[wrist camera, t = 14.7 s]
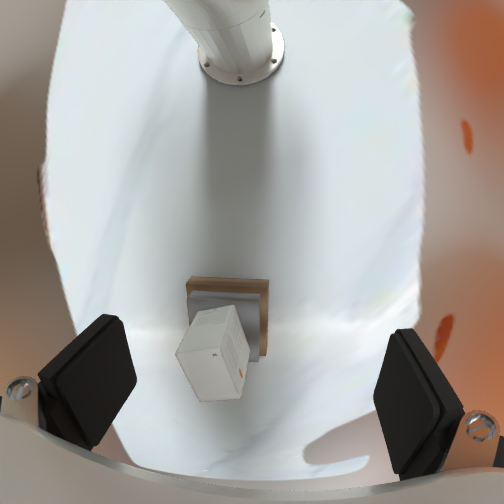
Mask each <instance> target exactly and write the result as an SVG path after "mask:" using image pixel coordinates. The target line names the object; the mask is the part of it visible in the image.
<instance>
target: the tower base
mask: <svg viewBox="0 0 504 504" xmlns="http://www.w3.org/2000/svg"><path fill="white" fill-rule="evenodd" d="M268 288H269V280H261V279H234V278H210V277H191V278H190V279H189V281H188V282H187V283H186V289H187V306H188V316H189V325H191V323H192V322H193V320H194V318H195V316H196V314H197V312H198V311H203V310H208V309H214V308H219V307H224V306H229V305H235V307H236V311H237V313H238V316H239V319H240V322H241V325H242V328H243V331H244V334H245V337H246V340H247V342H248V345H249V348H250V354H249V360H248V361H250V362H258V360H259V356H266V352H267V333H268Z"/></svg>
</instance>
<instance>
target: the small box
mask: <svg viewBox="0 0 504 504" xmlns="http://www.w3.org/2000/svg"><path fill="white" fill-rule="evenodd" d="M249 354H250V348H249V345H248V342H247V340H246V337H245V334H244V331H243V328H242V325H241V322H240V319H239V316H238V313H237V311H236V307H235V305H229V306H224V307H219V308H214V309H208V310H203V311H198V312H197V314H196V316H195V318H194V320H193V322H192V323H191V325H190V327H189V329H188V331H187V332H186V334H185V336H184V338H183V340H182V342H181V343H180V345H179V347H178V349H177V351H176V353H175V355H176V357H177V359H178V361H179V363H180V365H181V367H182V369H183V371H184V373H185V375H186V377H187V379H188V381H189V383H190V385H191V386H192V388H193V390H194V392H195V394H196V396H197V398H198V400H199V401H200V402H202V401H219V400H232V399H241V398H242V393H243V388H244V382H245V377H246V371H247V366H248V360H249Z"/></svg>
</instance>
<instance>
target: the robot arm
mask: <svg viewBox="0 0 504 504" xmlns="http://www.w3.org/2000/svg"><path fill="white" fill-rule="evenodd" d="M163 1H164V2H165V3H166V4H167V5H168V7H169V8H170V9H171V10H172V11H173V12H174V13H175V15H176V16H177V17H178V19H179V20H180V21H181V22H182V24H183V25H184V26H185V28H186V29H187V30H188V31H189V33H190V34H191V35H192V37H193V38H194V39H195V41H196V42H197V43H198V44H199V45H198V59H199V62H200V64H201V66H202V68H203V69H204V71H205V72H206V73H207V74H208V75H209V76H210V77H212V78H213V79H215V80H217V81H218V82H221V83H224V84H228V85H234V86H243V85H249V84H253V83H256V82H259V81H261V80H263V79H265V78H267V77H268V76H269V75H271V74H272V73H273V72H274V71H275V70H276V69H277V68H278V66H279V65H280V63H281V61H282V59H283V56H284V40H283V36H282V34H281V32H280V31H279V29H278V28H277V27H276V26H275V25H274V24H273V23H271V17H270V8H269V0H163ZM273 32H274V33H273ZM273 62H276V63H275V64H273ZM208 65H210V66H209V67H207V66H208ZM240 79H242V81H241V82H239V80H240ZM38 376H39V378H40V380H41V381H40V382H39V383H37V381H36V380H35V379H34V378H32V377H30V376H19V377H16V378H14V379H12V380H11V381H9V382H8V383H7V384H6V386H5V387H4V390H3V395H2V396H0V504H504V437H503V436H500V425H499V422H498V421H497V419H496V418H495V417H494V416H493V415H492V414H490V413H488V412H486V411H482V410H472V411H470V412H467V413H466V414H465V412H464V410H463V405H462V403H461V402H460V400H459V398H458V397H457V395H456V393H455V392H454V390H453V388H452V387H451V385H450V383H449V382H448V380H447V379H446V377H445V376H444V374H443V373H442V371H441V369H440V368H439V366H438V365H437V363H436V361H435V360H434V358H433V357H432V355H431V354H430V352H429V351H428V350H427V348H426V347H425V345H424V344H423V342H422V341H421V339H420V338H419V336H418V335H417V333H416V332H415V331H414V329H412V328H410V329H397V330H396V331H395V334H391V335H390V338H389V342H388V346H387V350H386V353H385V357H384V361H383V364H382V368H381V371H380V374H379V378H378V381H377V384H376V387H375V390H374V395H373V400H374V404H375V407H376V410H377V414H378V417H379V420H380V424H381V427H382V431H383V434H384V438H385V441H386V445H387V449H388V452H389V456H390V460H391V464H392V468H393V471H394V473H395V474H399V478H400V481H398V482H392V483H386V484H380V485H373V486H365V487H357V488H349V489H337V490H322V491H271V490H254V489H242V488H233V487H224V486H217V485H211V484H205V483H199V482H193V481H188V480H183V479H179V478H174V477H170V476H165V475H162V474H158V473H154V472H150V471H147V470H143V469H139V468H136V467H132V466H130V465H127V464H123V463H120V462H117V461H115V460H112V459H109V458H106V457H104V456H101V455H98V454H95V453H93V452H91V450H92V448H93V447H94V446H97V445H98V444H99V443H100V441H101V439H102V438H103V436H104V435H105V433H106V431H107V430H108V428H109V427H110V425H111V423H112V422H113V420H114V419H115V417H116V415H117V414H118V412H119V411H120V409H121V408H122V406H123V404H124V403H125V401H126V400H127V398H128V397H129V395H130V394H131V392H132V390H133V389H134V387H135V386H136V383H137V376H136V373H135V369H134V366H133V362H132V358H131V354H130V350H129V346H128V342H127V338H126V334H125V330H124V325H123V322H122V321H121V320H120V319H119V318H118V317H117V316H115V315H108V314H102V315H101V316H100V317H98V318H97V319H96V320H95V321H94V322H93V323H92V324H91V325H89V326H88V327H87V328H86V329H85V330H84V331H83V332H82V333H81V334H79V335H78V336H77V337H76V338H75V339H74V340H73V341H72V342H71V343H70V344H69V345H67V346H66V347H65V348H64V349H63V350H62V351H61V352H60V353H59V354H58V355H57V356H56V357H55V358H53V360H51V362H49V363H48V364H47V365H46V366H45V367H44V368H43V369H42V370H41V371H40V372H39V373H38Z"/></svg>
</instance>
